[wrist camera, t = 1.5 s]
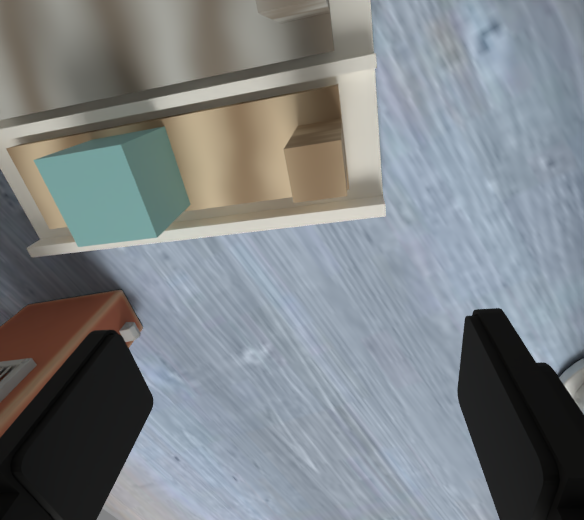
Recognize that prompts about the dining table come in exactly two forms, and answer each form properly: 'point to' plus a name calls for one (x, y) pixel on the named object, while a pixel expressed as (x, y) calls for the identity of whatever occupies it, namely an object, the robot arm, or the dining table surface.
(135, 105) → the lane board
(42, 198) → the oak strip
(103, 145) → the teal block
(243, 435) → the dining table surface
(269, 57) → the grey strip
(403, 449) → the dining table surface
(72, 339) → the control panel
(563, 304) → the dining table surface
